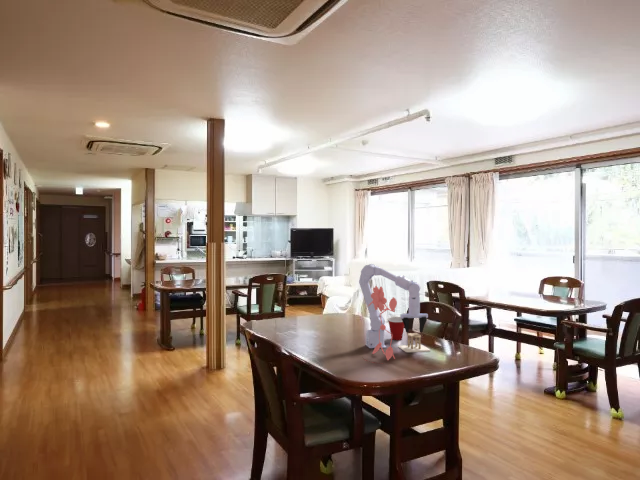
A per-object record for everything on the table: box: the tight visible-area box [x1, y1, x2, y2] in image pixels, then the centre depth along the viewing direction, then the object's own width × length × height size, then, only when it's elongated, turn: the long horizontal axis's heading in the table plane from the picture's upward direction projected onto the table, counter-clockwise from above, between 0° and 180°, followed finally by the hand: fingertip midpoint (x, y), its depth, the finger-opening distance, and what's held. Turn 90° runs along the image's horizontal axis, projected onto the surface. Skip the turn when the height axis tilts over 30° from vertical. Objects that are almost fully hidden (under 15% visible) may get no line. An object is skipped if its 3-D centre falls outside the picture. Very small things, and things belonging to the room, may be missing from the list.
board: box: [398, 344, 431, 353], centre depth 229 cm, size 13×11×1 cm
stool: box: [407, 332, 422, 349], centre depth 229 cm, size 5×5×7 cm
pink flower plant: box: [362, 285, 398, 365], centre depth 211 cm, size 15×26×35 cm, turn 24°
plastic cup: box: [386, 316, 405, 341], centre depth 251 cm, size 11×11×12 cm
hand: (414, 331), depth 229 cm, fingers open, 7 cm apart
